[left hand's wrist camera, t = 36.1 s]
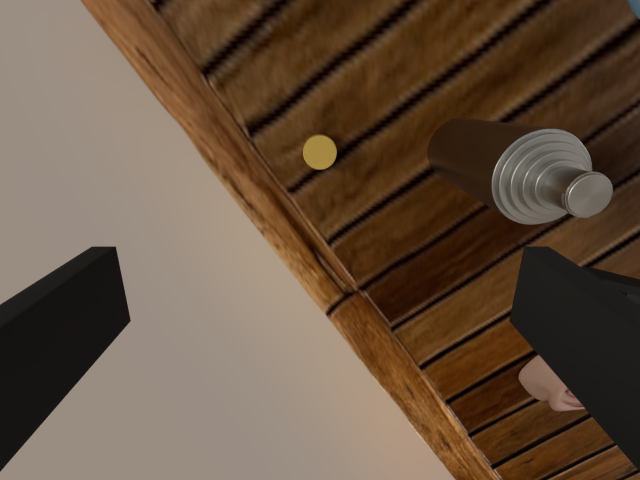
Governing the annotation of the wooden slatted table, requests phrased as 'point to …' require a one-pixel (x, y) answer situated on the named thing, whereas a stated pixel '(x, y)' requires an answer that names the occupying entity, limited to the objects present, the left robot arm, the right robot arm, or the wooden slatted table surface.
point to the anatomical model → (547, 386)
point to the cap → (319, 151)
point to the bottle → (520, 169)
